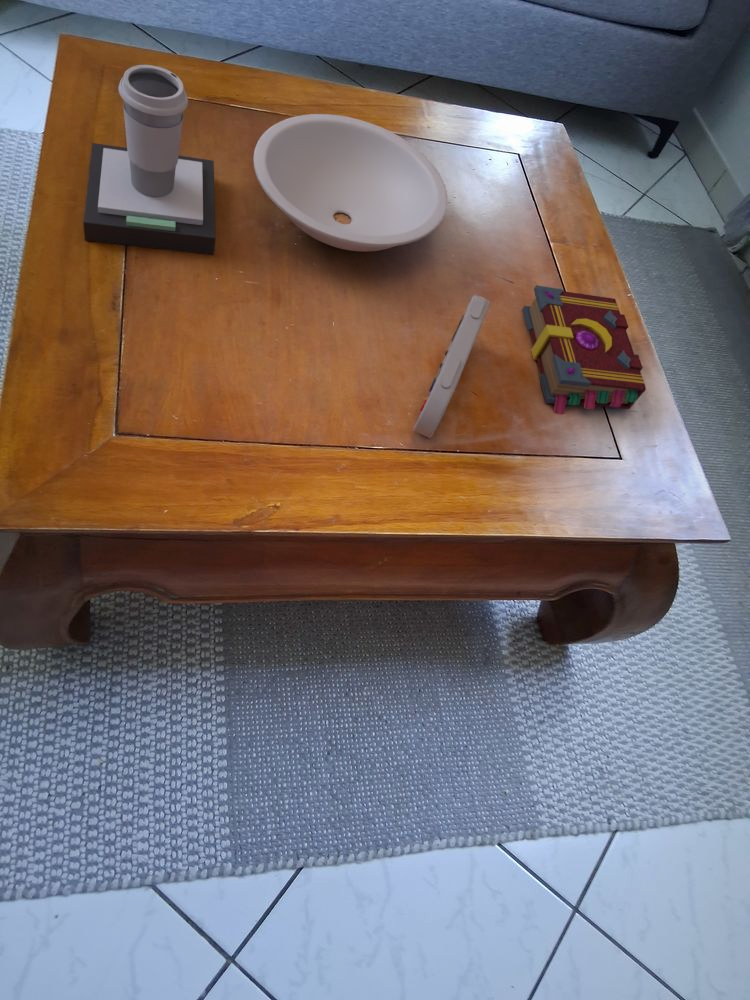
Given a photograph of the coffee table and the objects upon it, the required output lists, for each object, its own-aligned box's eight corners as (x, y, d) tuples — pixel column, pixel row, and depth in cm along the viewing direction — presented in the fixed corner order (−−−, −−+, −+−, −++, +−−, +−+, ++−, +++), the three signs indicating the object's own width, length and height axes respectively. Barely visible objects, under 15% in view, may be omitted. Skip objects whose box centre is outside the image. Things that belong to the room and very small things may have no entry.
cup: (196, 191, 88) (203, 92, 78) (151, 211, 84) (152, 110, 75) (153, 157, 89) (155, 55, 80) (107, 175, 86) (103, 71, 76)
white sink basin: (216, 236, 90) (220, 188, 84) (287, 136, 104) (295, 89, 98) (403, 314, 91) (420, 272, 85) (450, 205, 105) (466, 163, 99)
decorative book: (600, 322, 99) (619, 294, 95) (631, 420, 91) (654, 394, 87) (520, 311, 97) (537, 281, 92) (545, 412, 88) (565, 384, 84)
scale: (213, 255, 88) (216, 232, 85) (84, 240, 84) (82, 216, 81) (212, 178, 95) (214, 154, 92) (93, 161, 91) (91, 136, 89)
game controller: (454, 330, 92) (479, 277, 85) (471, 338, 92) (497, 286, 85) (404, 443, 80) (428, 393, 74) (423, 452, 80) (449, 403, 74)
